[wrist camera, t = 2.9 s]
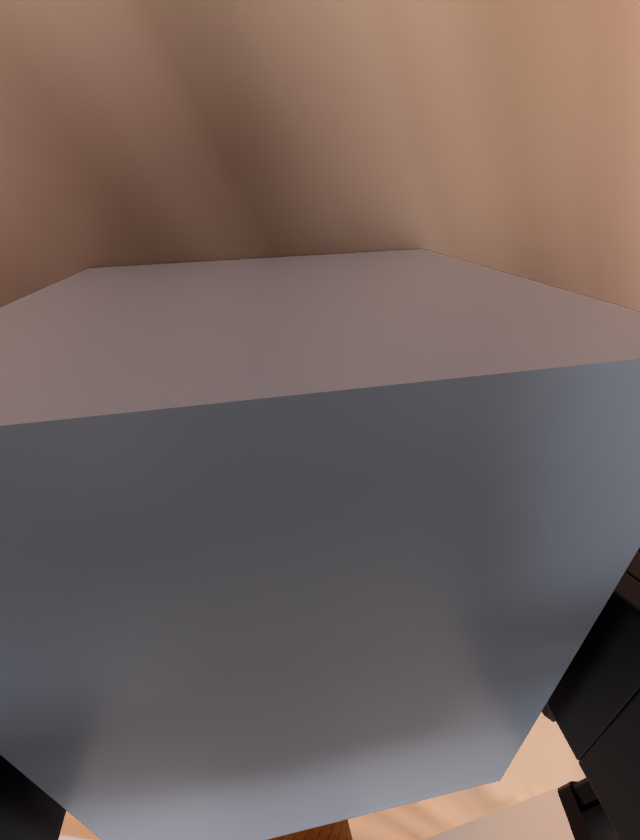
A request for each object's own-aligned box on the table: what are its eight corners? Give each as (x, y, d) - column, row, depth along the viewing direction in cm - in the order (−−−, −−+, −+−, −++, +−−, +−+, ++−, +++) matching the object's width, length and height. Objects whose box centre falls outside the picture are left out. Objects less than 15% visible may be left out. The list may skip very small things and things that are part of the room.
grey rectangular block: (423, 248, 9) (759, 345, 3) (394, 536, 14) (499, 780, 8) (88, 268, 8) (-348, 461, 2) (187, 569, 13) (139, 871, 7)
